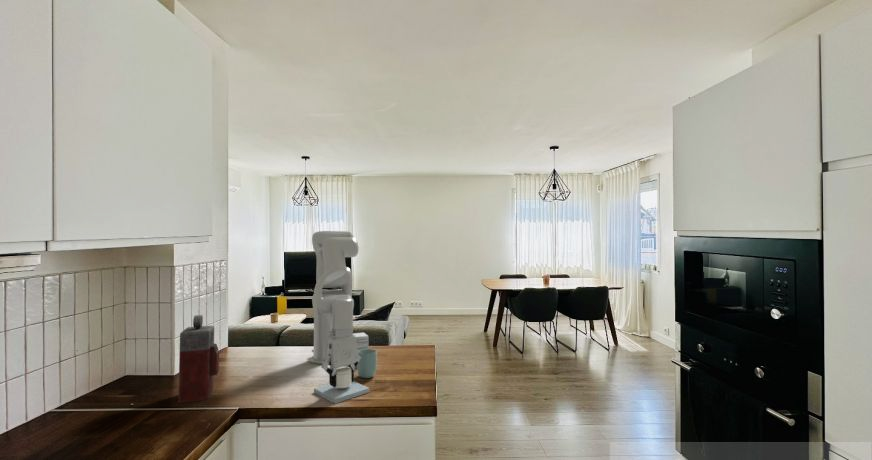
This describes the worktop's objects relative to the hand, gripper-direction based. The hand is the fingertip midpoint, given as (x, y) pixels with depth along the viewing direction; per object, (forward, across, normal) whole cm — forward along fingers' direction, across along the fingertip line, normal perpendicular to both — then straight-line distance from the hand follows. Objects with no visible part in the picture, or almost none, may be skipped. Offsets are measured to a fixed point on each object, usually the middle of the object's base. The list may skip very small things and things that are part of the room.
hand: (341, 382), depth 141 cm
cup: (+4, +16, +7) cm, 18 cm away
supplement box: (+4, +24, +24) cm, 34 cm away
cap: (+1, 0, 0) cm, 1 cm away
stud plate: (+3, 0, 0) cm, 3 cm away
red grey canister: (+4, -36, +33) cm, 49 cm away
